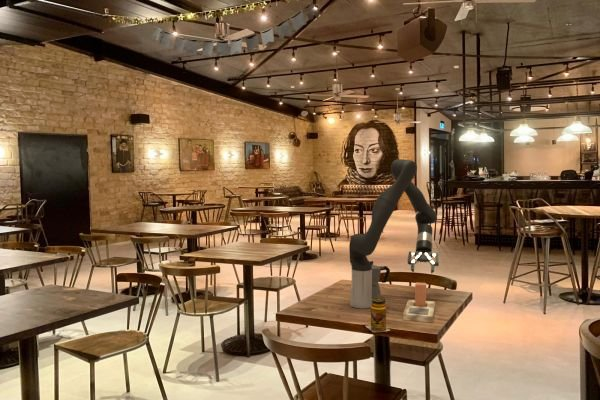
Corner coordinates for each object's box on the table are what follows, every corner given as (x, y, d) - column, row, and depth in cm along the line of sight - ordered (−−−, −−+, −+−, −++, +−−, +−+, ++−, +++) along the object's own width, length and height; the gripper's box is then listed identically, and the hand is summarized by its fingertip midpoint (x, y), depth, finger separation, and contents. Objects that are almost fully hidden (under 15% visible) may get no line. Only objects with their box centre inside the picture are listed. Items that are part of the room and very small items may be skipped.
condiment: (374, 333, 200) (374, 302, 199) (364, 326, 208) (365, 297, 207) (390, 331, 202) (391, 301, 202) (381, 324, 210) (381, 295, 210)
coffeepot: (357, 299, 249) (357, 262, 248) (358, 294, 259) (358, 258, 257) (389, 300, 247) (390, 263, 246) (389, 295, 256) (389, 259, 255)
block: (414, 311, 229) (415, 284, 228) (415, 308, 233) (416, 282, 233) (425, 311, 228) (425, 285, 227) (425, 309, 232) (426, 283, 231)
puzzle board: (402, 320, 216) (403, 313, 216) (408, 304, 239) (408, 298, 239) (432, 322, 213) (432, 315, 213) (434, 306, 236) (434, 300, 235)
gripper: (408, 238, 249) (406, 266, 239) (439, 239, 245) (438, 268, 235) (409, 247, 255) (407, 275, 245) (439, 248, 251) (438, 277, 240)
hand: (422, 271), depth 240 cm, fingers open, 8 cm apart
